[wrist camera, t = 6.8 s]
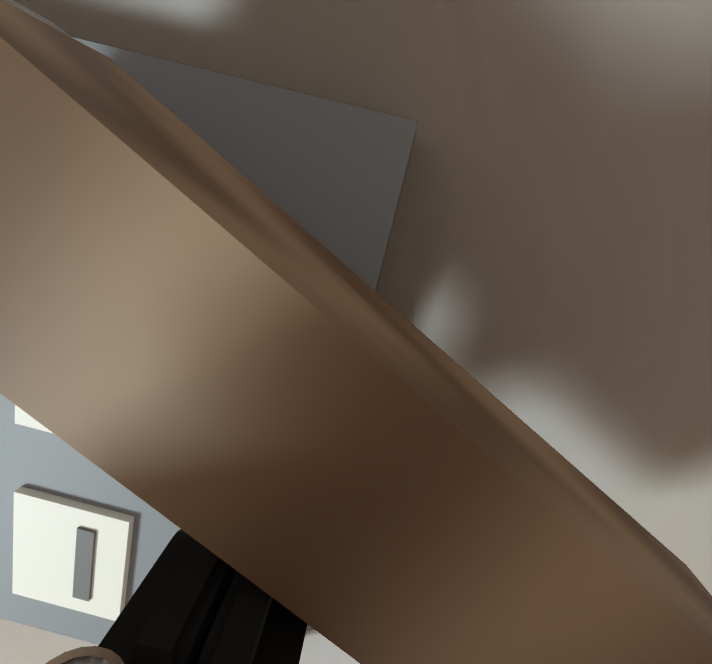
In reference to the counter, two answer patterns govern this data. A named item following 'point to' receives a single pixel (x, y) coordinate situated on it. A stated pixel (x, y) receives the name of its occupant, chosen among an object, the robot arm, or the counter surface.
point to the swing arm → (292, 398)
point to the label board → (302, 203)
